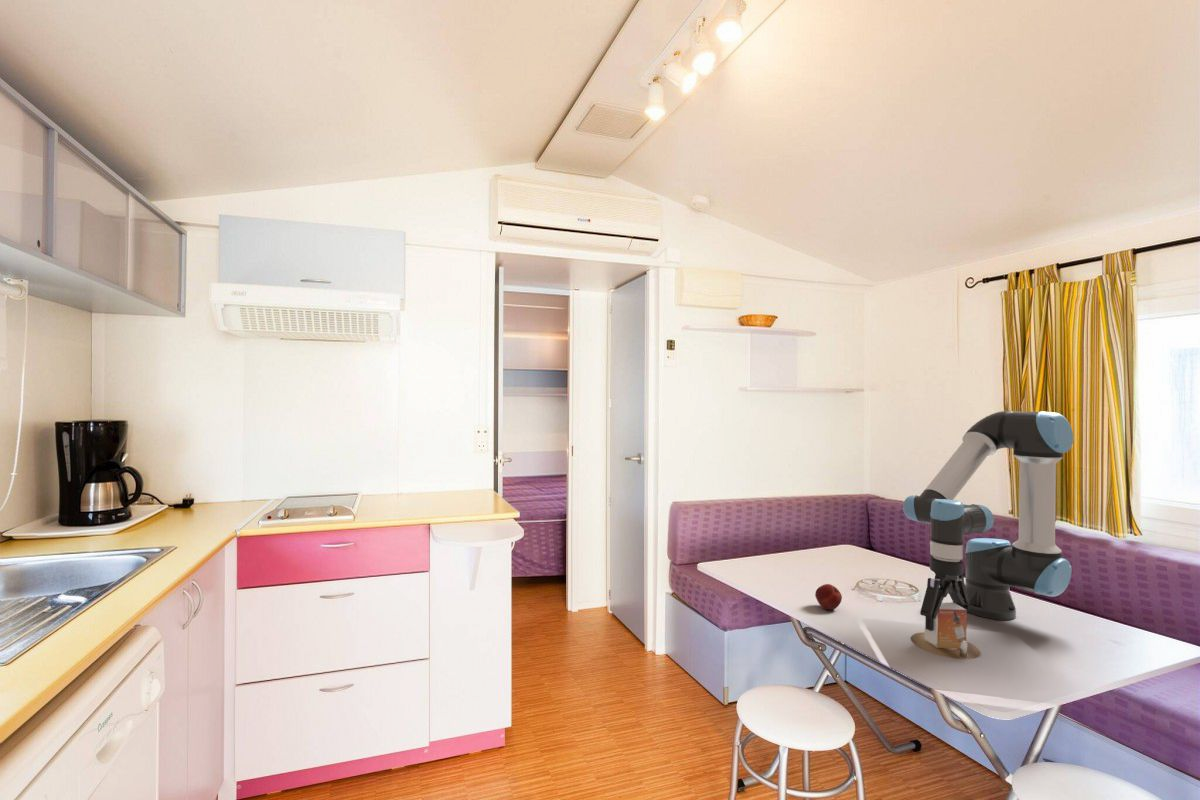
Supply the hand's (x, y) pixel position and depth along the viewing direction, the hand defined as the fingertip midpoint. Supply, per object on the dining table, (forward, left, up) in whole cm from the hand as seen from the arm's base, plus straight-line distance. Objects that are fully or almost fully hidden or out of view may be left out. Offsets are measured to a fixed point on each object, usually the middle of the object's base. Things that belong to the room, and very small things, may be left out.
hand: (944, 636), depth 148 cm
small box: (0, 0, -2) cm, 2 cm away
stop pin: (-2, +6, -2) cm, 7 cm away
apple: (+26, -23, -4) cm, 35 cm away
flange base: (0, 0, -4) cm, 4 cm away
